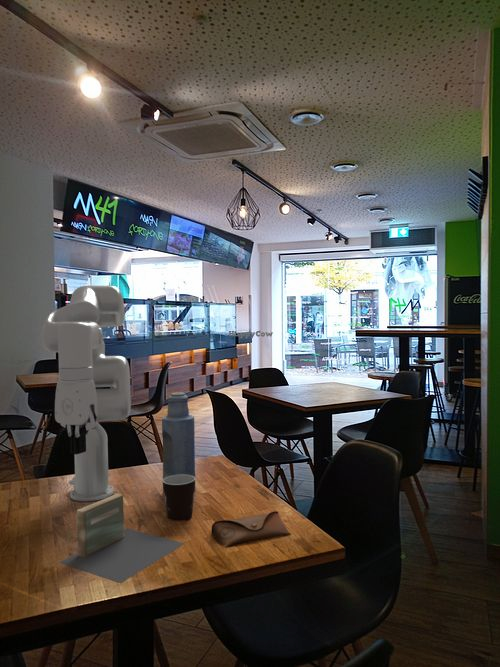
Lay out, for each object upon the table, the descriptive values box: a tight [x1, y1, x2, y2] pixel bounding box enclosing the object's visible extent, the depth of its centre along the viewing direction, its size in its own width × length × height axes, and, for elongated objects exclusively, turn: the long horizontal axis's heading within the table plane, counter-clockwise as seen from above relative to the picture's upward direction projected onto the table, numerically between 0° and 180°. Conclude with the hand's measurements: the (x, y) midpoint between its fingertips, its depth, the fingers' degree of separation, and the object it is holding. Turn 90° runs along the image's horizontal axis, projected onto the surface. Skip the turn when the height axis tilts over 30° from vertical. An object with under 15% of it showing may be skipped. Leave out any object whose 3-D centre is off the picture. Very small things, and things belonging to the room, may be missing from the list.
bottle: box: [161, 391, 196, 494], centre depth 152 cm, size 10×10×30 cm
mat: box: [59, 527, 185, 584], centre depth 112 cm, size 18×20×1 cm
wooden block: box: [76, 493, 125, 557], centre depth 115 cm, size 2×12×10 cm, turn 149°
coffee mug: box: [161, 474, 196, 522], centre depth 134 cm, size 12×9×10 cm
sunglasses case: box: [211, 510, 292, 549], centre depth 121 cm, size 18×7×7 cm
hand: (78, 452), depth 118 cm, fingers closed
